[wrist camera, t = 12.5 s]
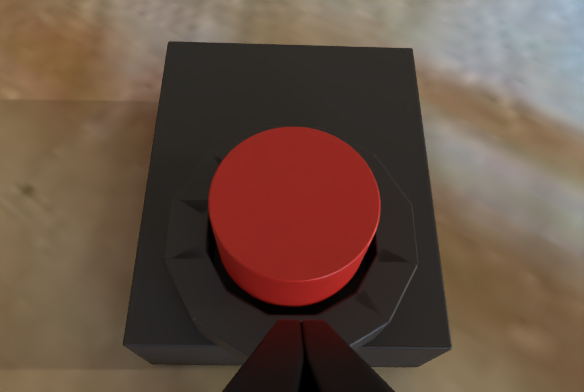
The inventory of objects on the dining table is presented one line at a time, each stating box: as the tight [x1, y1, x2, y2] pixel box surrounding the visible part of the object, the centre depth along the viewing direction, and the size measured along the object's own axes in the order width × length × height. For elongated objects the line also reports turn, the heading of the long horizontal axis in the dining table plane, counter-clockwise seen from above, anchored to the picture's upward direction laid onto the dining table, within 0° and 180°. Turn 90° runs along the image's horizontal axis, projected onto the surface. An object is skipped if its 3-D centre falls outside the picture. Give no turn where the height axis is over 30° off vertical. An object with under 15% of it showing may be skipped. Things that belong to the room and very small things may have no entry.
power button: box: [208, 127, 381, 308], centre depth 14 cm, size 4×4×2 cm
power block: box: [123, 41, 452, 367], centre depth 19 cm, size 13×10×6 cm
